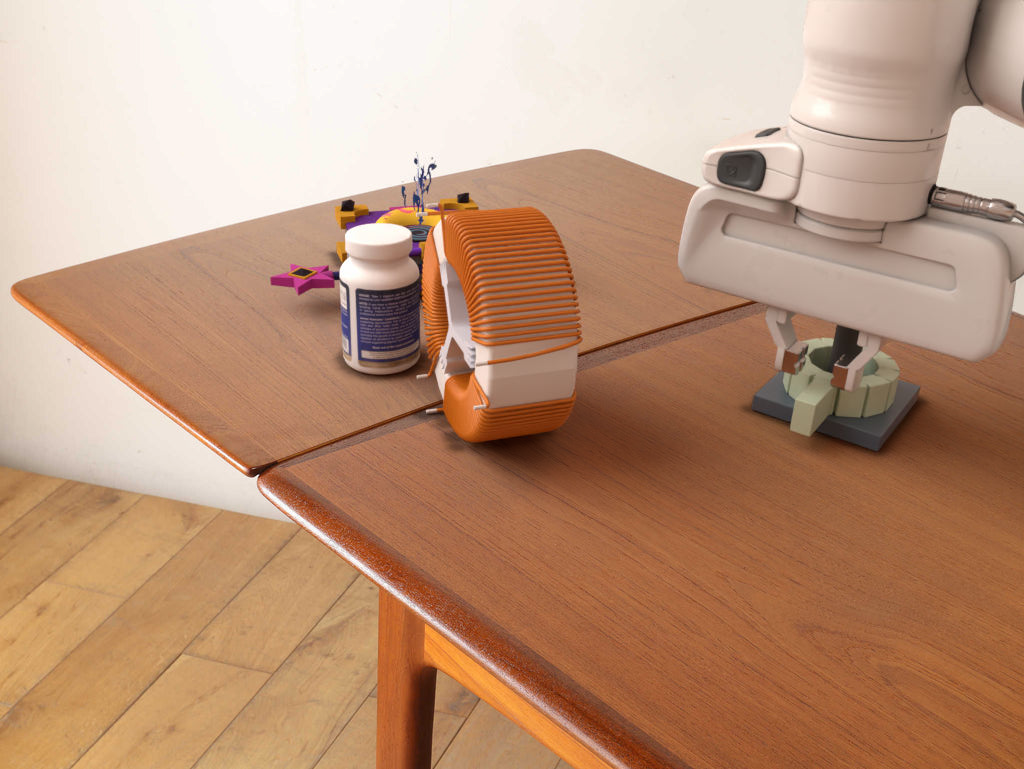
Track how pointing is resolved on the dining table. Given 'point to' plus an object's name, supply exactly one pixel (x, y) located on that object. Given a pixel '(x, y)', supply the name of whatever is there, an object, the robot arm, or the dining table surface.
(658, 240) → the dining table surface
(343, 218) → the purple yellow toy
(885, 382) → the tabbed ring on plate
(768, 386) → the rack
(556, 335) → the coil
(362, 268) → the pill bottle
